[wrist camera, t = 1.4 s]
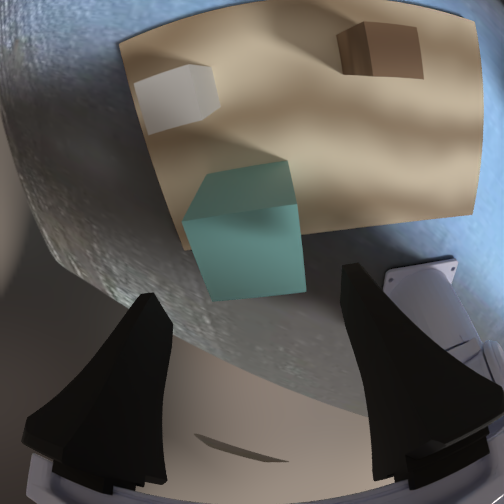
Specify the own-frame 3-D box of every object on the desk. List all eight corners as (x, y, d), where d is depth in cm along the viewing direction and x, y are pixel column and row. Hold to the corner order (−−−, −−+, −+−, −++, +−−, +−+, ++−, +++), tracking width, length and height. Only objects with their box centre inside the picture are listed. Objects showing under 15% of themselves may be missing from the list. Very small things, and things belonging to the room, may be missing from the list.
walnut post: (383, 74, 13) (424, 79, 8) (343, 74, 13) (373, 76, 9) (377, 36, 11) (416, 27, 7) (335, 34, 11) (363, 21, 7)
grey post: (220, 106, 15) (202, 119, 11) (179, 117, 15) (148, 135, 11) (211, 67, 13) (188, 64, 9) (169, 78, 13) (133, 83, 9)
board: (467, 209, 18) (472, 214, 17) (186, 244, 22) (184, 250, 21) (468, 22, 9) (474, 21, 8) (124, 44, 12) (118, 44, 12)
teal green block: (297, 230, 19) (306, 291, 15) (225, 240, 20) (212, 301, 15) (287, 160, 16) (297, 204, 12) (206, 174, 17) (181, 221, 12)
